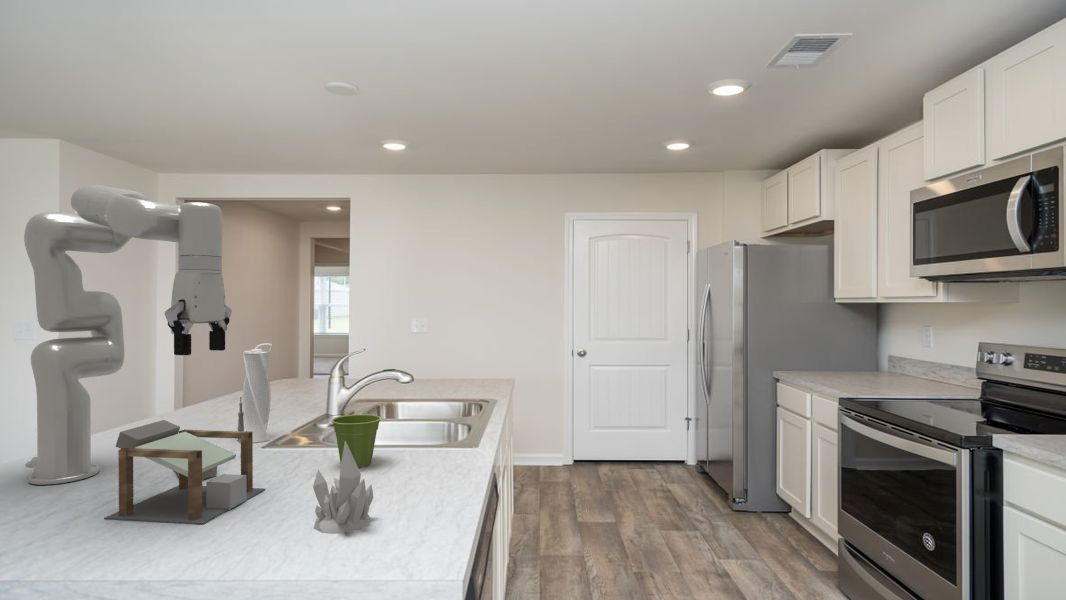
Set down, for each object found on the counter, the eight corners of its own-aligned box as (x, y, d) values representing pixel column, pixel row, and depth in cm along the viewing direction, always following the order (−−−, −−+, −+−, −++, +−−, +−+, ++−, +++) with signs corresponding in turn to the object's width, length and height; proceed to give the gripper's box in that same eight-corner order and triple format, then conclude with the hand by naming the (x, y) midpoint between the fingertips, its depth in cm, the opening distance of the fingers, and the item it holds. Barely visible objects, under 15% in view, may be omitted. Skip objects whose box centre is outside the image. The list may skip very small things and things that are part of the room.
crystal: (339, 506, 113) (339, 430, 113) (386, 521, 106) (386, 439, 106) (294, 523, 105) (293, 440, 105) (342, 540, 98) (341, 451, 98)
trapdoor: (110, 447, 110) (115, 433, 110) (163, 431, 123) (167, 418, 123) (188, 482, 108) (193, 467, 108) (233, 462, 121) (237, 449, 121)
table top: (104, 519, 107) (104, 517, 107) (179, 486, 126) (179, 484, 126) (203, 524, 104) (203, 523, 104) (265, 489, 123) (265, 488, 123)
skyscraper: (267, 436, 172) (267, 342, 172) (275, 441, 166) (275, 343, 166) (236, 441, 167) (236, 343, 167) (243, 446, 160) (243, 345, 160)
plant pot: (384, 468, 139) (384, 421, 139) (332, 474, 134) (332, 425, 134) (378, 455, 150) (378, 412, 150) (330, 460, 145) (329, 415, 145)
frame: (118, 517, 108) (118, 449, 108) (184, 488, 125) (184, 429, 125) (196, 521, 106) (195, 452, 106) (252, 491, 123) (252, 431, 122)
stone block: (206, 481, 112) (230, 482, 111) (223, 474, 117) (246, 475, 116) (206, 507, 112) (230, 508, 111) (223, 498, 117) (246, 499, 116)
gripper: (213, 268, 124) (213, 348, 124) (148, 263, 107) (149, 356, 107) (245, 268, 123) (245, 349, 123) (186, 263, 106) (186, 357, 106)
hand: (200, 352), depth 115 cm, fingers open, 9 cm apart
